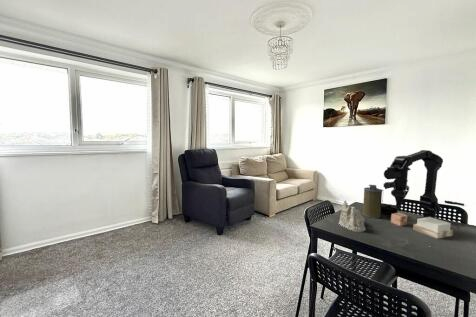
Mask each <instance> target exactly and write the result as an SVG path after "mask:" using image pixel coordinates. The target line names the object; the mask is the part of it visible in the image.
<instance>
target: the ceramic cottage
mask: <svg viewBox="0 0 476 317" xmlns="http://www.w3.org/2000/svg"><path fill="white" fill-rule="evenodd" d="M365 221H366V220H365V218H364V215H363V214H362V213H361V211H360V209H356V207H354V206H351V205H350V204H349V205H348V202H347V200H343V203H342V206H341V208H340V215H339V221H338V225H339V224H340V225H341V226H340V225H339V226H340V227H342V226H343V227H342V228H344V227H345V228H344V229H346V228H347V230H349V231H351V230H352V231H351V232H354V233H355V232H356V233H362V232H365V231H366V230H367V229H366V226H365Z"/></svg>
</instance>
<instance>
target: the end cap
mask: <svg viewBox="0 0 476 317" xmlns="http://www.w3.org/2000/svg"><path fill="white" fill-rule="evenodd" d="M394 213H399V206H397V204H391V203H390V204H389V203H384V202H383V204H382V202H381V213H380V216H386V217H391V216H392V214H394Z"/></svg>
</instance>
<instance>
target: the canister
mask: <svg viewBox="0 0 476 317" xmlns="http://www.w3.org/2000/svg"><path fill="white" fill-rule="evenodd" d="M383 200H384V199H383V189H381V188H377V185H376V184H369V185H368V187H364V188H363V207H362V213H361V215H362V216H363V217H366V218H372V219H373V218H374V219H378V218H381V216H382V215H380V213H381V203H382V204H383V203H384V202H383Z"/></svg>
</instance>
